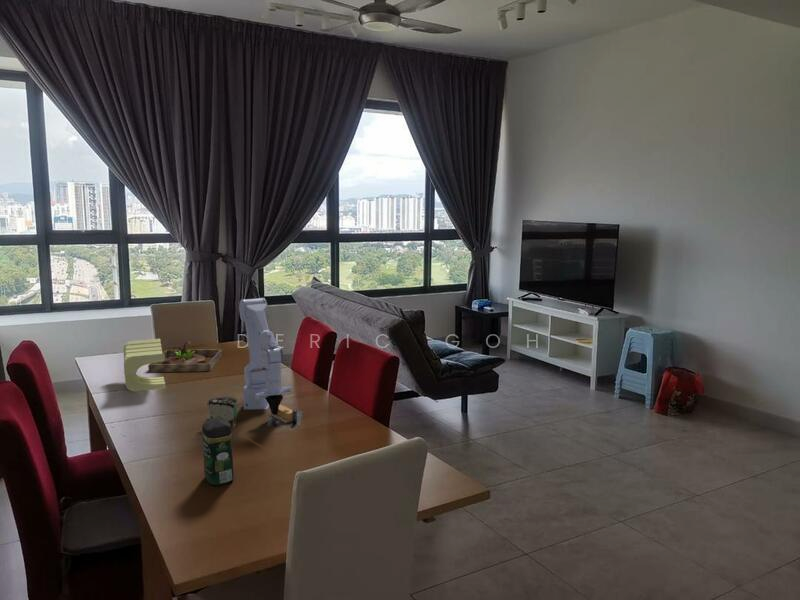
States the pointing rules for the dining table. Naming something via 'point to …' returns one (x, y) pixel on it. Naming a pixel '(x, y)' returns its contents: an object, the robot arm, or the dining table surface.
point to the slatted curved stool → (138, 356)
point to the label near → (285, 419)
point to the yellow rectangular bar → (285, 412)
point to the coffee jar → (217, 451)
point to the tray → (277, 422)
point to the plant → (185, 357)
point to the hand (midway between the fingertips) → (274, 413)
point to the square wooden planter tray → (187, 367)
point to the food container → (224, 409)
